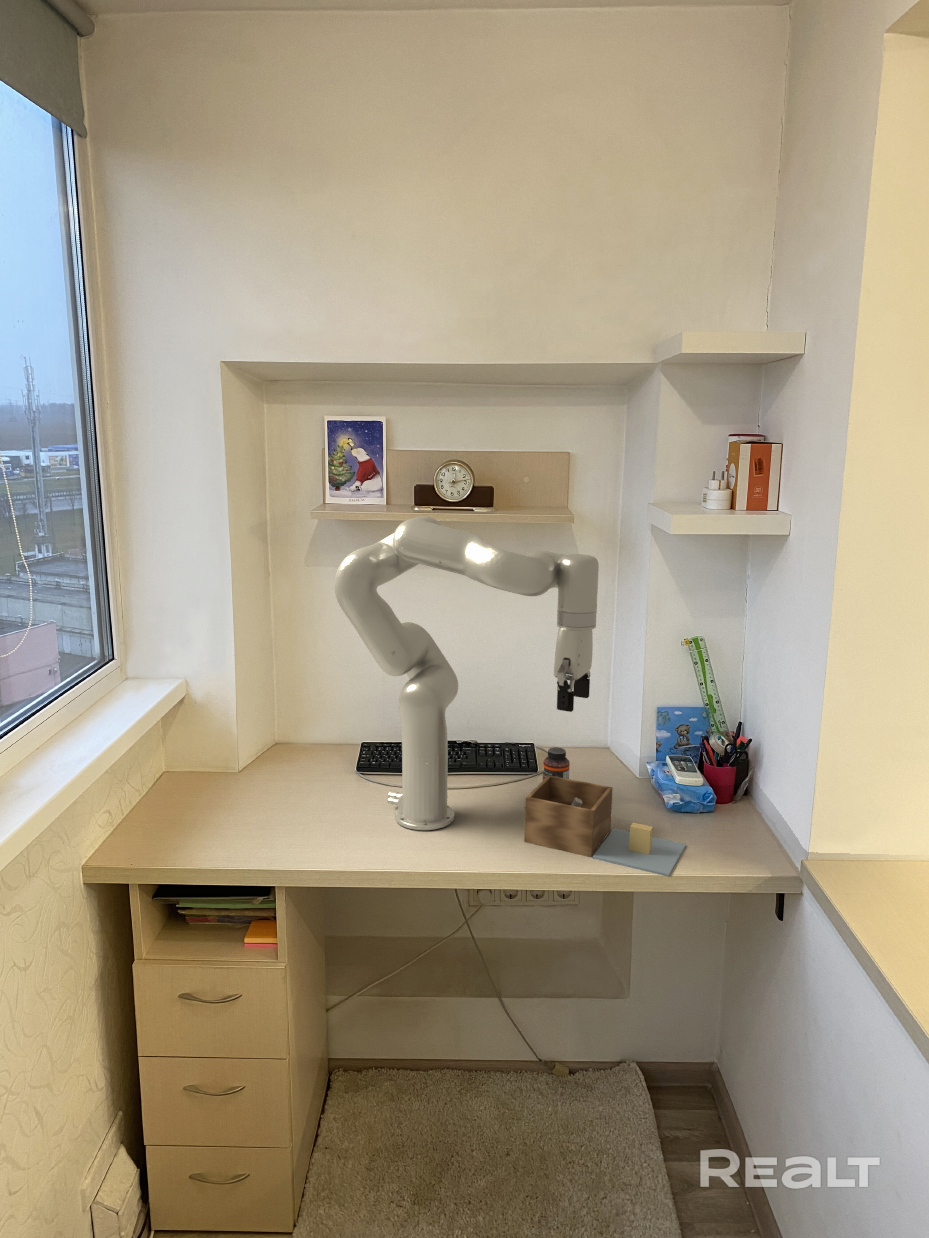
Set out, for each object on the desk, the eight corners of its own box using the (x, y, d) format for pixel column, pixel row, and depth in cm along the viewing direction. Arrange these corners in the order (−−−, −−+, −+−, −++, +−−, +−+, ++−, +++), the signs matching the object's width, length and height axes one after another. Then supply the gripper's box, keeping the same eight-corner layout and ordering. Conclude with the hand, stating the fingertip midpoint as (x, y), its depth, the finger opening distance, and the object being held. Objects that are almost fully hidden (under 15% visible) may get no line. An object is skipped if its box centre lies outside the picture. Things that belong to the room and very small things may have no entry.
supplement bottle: (537, 799, 194) (539, 751, 191) (547, 789, 199) (549, 743, 196) (562, 804, 191) (564, 756, 188) (572, 795, 196) (574, 748, 194)
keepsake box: (524, 841, 173) (525, 797, 171) (547, 816, 185) (548, 775, 183) (591, 857, 167) (593, 811, 165) (610, 830, 179) (612, 787, 177)
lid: (592, 860, 167) (593, 832, 166) (614, 832, 179) (615, 805, 178) (668, 879, 160) (670, 849, 159) (685, 848, 172) (687, 821, 171)
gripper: (572, 609, 176) (569, 689, 179) (542, 625, 160) (539, 713, 164) (608, 612, 172) (604, 694, 176) (581, 629, 157) (577, 719, 161)
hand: (573, 703), depth 170 cm, fingers open, 9 cm apart
